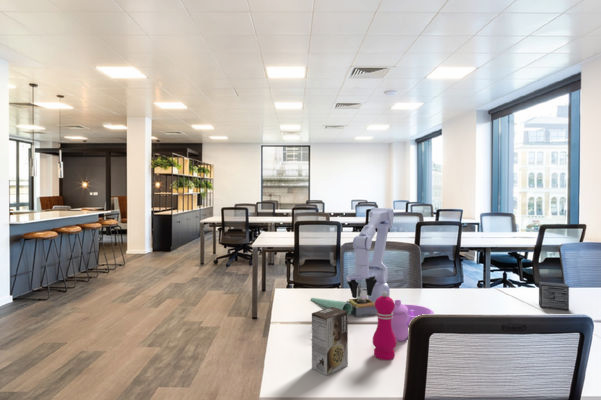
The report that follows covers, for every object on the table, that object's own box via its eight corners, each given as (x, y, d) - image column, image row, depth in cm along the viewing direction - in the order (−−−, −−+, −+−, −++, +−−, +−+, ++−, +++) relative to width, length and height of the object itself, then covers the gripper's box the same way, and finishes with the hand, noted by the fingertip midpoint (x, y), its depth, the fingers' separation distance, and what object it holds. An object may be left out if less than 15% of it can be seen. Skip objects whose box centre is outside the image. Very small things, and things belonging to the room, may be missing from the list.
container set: (400, 317, 154) (400, 285, 154) (438, 325, 145) (439, 291, 145) (372, 336, 134) (372, 299, 134) (415, 347, 125) (415, 307, 125)
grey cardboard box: (332, 358, 116) (332, 306, 116) (348, 365, 111) (348, 310, 111) (310, 368, 110) (310, 312, 109) (327, 376, 105) (327, 317, 105)
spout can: (364, 301, 164) (364, 283, 164) (369, 304, 159) (369, 286, 159) (355, 302, 163) (355, 284, 162) (359, 305, 158) (359, 287, 158)
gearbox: (369, 307, 168) (369, 296, 168) (381, 314, 158) (381, 302, 158) (345, 309, 164) (346, 298, 164) (356, 316, 155) (356, 305, 155)
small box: (566, 306, 169) (566, 283, 169) (569, 311, 163) (569, 286, 163) (538, 303, 174) (538, 281, 174) (540, 307, 168) (540, 284, 168)
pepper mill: (369, 351, 121) (370, 288, 121) (391, 350, 122) (392, 288, 122) (376, 361, 114) (376, 294, 114) (399, 360, 115) (400, 294, 114)
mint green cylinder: (316, 288, 181) (352, 301, 158) (316, 299, 181) (352, 315, 158) (306, 289, 178) (341, 303, 155) (306, 301, 178) (341, 317, 156)
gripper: (369, 261, 168) (369, 292, 168) (342, 264, 161) (342, 296, 161) (380, 264, 161) (380, 296, 162) (352, 267, 155) (351, 300, 155)
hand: (361, 296), depth 161 cm, fingers open, 7 cm apart
